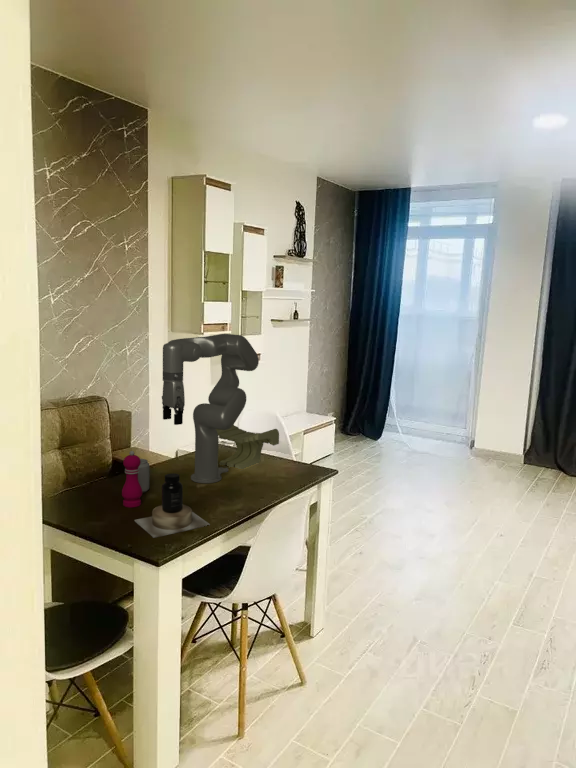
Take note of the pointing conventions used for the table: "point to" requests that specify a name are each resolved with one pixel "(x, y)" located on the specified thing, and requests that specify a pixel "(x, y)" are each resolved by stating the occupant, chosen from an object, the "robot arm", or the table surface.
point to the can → (144, 475)
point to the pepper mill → (132, 481)
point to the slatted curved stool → (247, 445)
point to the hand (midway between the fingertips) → (172, 421)
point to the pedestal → (170, 522)
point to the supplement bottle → (172, 494)
